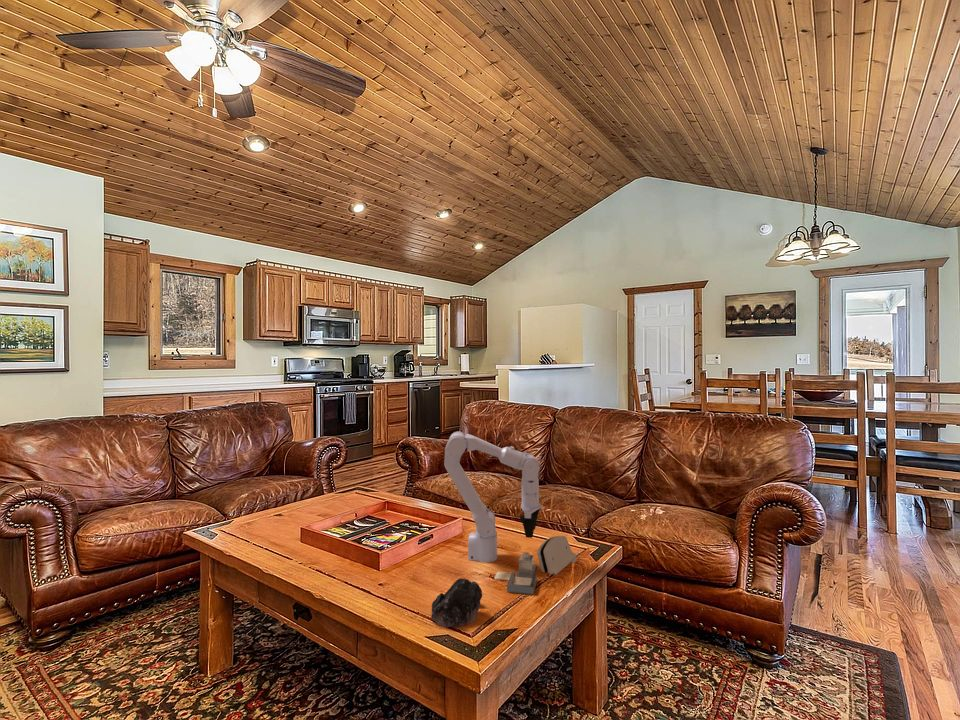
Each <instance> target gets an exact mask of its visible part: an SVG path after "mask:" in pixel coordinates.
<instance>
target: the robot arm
mask: <svg viewBox="0 0 960 720" xmlns="http://www.w3.org/2000/svg"><path fill="white" fill-rule="evenodd" d="M466 449H467V452H472V451H473V452H474V451H476V450H477V451H479V452H482V453H485V454H488V455H491V456H494V457H496V458H498V460H499V462H500V463H501V464H502V465H503V464H504V465H506V466H508V467H511V468H513V469H516V470H521V475H522V476H521V505H520V508H521V509H522V511H523V513H524V514H520V516H519V520H520V521H521V523H522V526H523V527H522V528H523V530H524V536H525V537H526V538H529V539H532V538H533V536H534V531H535V530H536V527H537V521H538V517H539V513H540V511H541V510H543V504H540V485H539V484H540V483H539V482H540V479H539V472H540V469H541V467H540V464H539V461H538V459H537V458H536V456H534V455H532V454H531V453H528V452H526V451H525V452H523V451H519V450H517V449H515V447H514V446H512V445H510V446H505V447H502V448H501V447H499V446H498V445H495V444H493V443H490V442H488V441H486V440H485V439H481V438H479V437H478V436H475V435H472V434H471V433H464V432H463V431H454V432H453V433H451V434H450V436H449V438H448V439H447V442H446V445H445V448H444V463H443V465H444V468H445V470H446V472H447V473H448V475H449V477H450V478H451V481H452V482H453V484H454V485H455V487H456V489H457V491H458V492H459V495H460V496H461V497H462V499H463V500H464V503H465V504H466V506H467V507H468V509H469V511H470V513H471V516H472V519H473V521H474V523H475V525H476V527H475V528H476V529H475V532H470V533H469V536H468V540H467V541H468V542H467V548H468V550H467V555H468V556H467V560H468V561H474V562H480V563H493V562H495V561H496V560H497V559H498V532H497V530H496V529H497V527H496V526H497V525H496V515H495V514H494V512H493V511H492V510H489V509H488V507H487V506H486V504H485V503H484V502H483V501H482V499H481V497H480V496H479V493H478V492H477V490H476V489H475V487H474V485H473V484H472V482H471V480H470V478H469V477H468V475H467V473H466V472H465V469H464V468H463V467H462V465H461V464H460V462H461V459H462V456H463V454H464V453H465V451H466Z"/></svg>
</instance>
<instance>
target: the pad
mask: <svg viewBox="0 0 960 720" xmlns="http://www.w3.org/2000/svg"><path fill="white" fill-rule="evenodd" d="M511 573H512V572H507V571H496V573H495V576H494V578H493V579H494V580H504V581H509V578H510V576H511Z"/></svg>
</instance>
